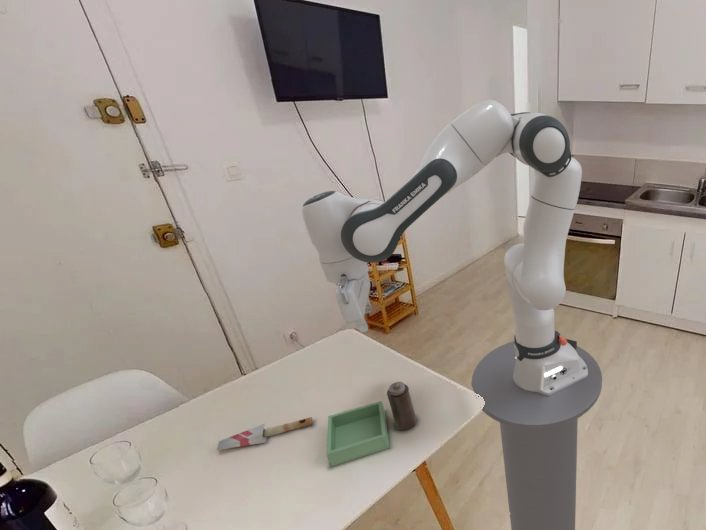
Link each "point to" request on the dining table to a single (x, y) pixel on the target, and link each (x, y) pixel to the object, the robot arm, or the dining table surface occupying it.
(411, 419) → the pepper mill
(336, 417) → the tray
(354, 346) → the dining table surface
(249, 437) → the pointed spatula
